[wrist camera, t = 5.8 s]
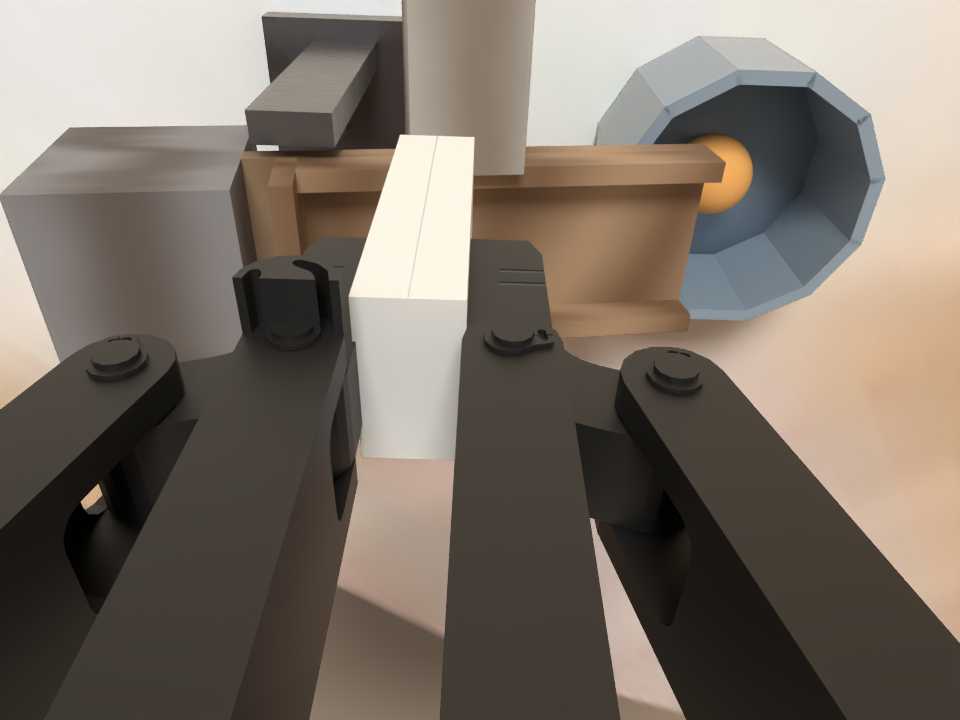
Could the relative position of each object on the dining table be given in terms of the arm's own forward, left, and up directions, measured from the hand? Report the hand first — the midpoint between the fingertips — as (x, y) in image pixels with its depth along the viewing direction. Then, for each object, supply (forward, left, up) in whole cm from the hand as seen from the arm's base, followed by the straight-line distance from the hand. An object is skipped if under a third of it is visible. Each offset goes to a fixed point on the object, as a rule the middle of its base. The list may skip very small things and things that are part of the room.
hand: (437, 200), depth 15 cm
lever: (-3, -4, -16) cm, 17 cm away
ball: (+13, -7, -22) cm, 26 cm away
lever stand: (-6, -7, -24) cm, 26 cm away
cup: (+13, -7, -24) cm, 29 cm away
